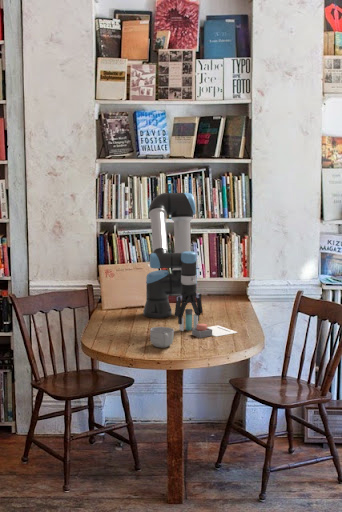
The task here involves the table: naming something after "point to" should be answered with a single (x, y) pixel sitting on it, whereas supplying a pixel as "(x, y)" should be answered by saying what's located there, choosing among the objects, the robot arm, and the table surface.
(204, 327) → the button
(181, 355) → the table surface
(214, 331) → the paper
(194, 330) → the button housing
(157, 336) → the teacup
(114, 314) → the table surface
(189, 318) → the marker
